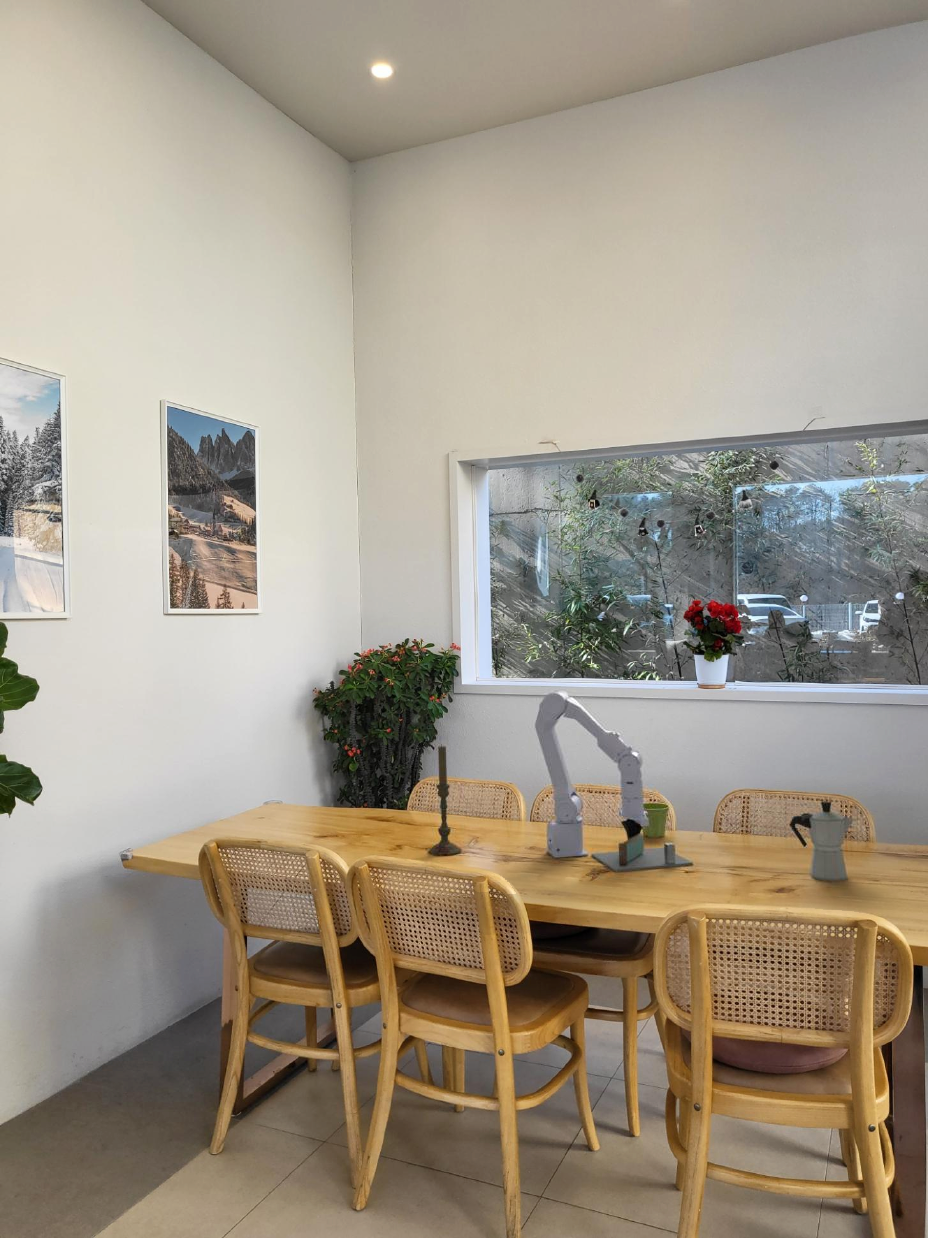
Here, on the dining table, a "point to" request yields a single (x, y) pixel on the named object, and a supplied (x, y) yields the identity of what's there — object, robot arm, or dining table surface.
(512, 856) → the dining table surface
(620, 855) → the hinge post
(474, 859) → the dining table surface
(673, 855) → the dark grey rectangular block
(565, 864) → the dining table surface
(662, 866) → the slate mat
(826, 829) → the coffee maker
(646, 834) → the plant pot
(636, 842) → the gate
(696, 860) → the dining table surface
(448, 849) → the candlestick holder
